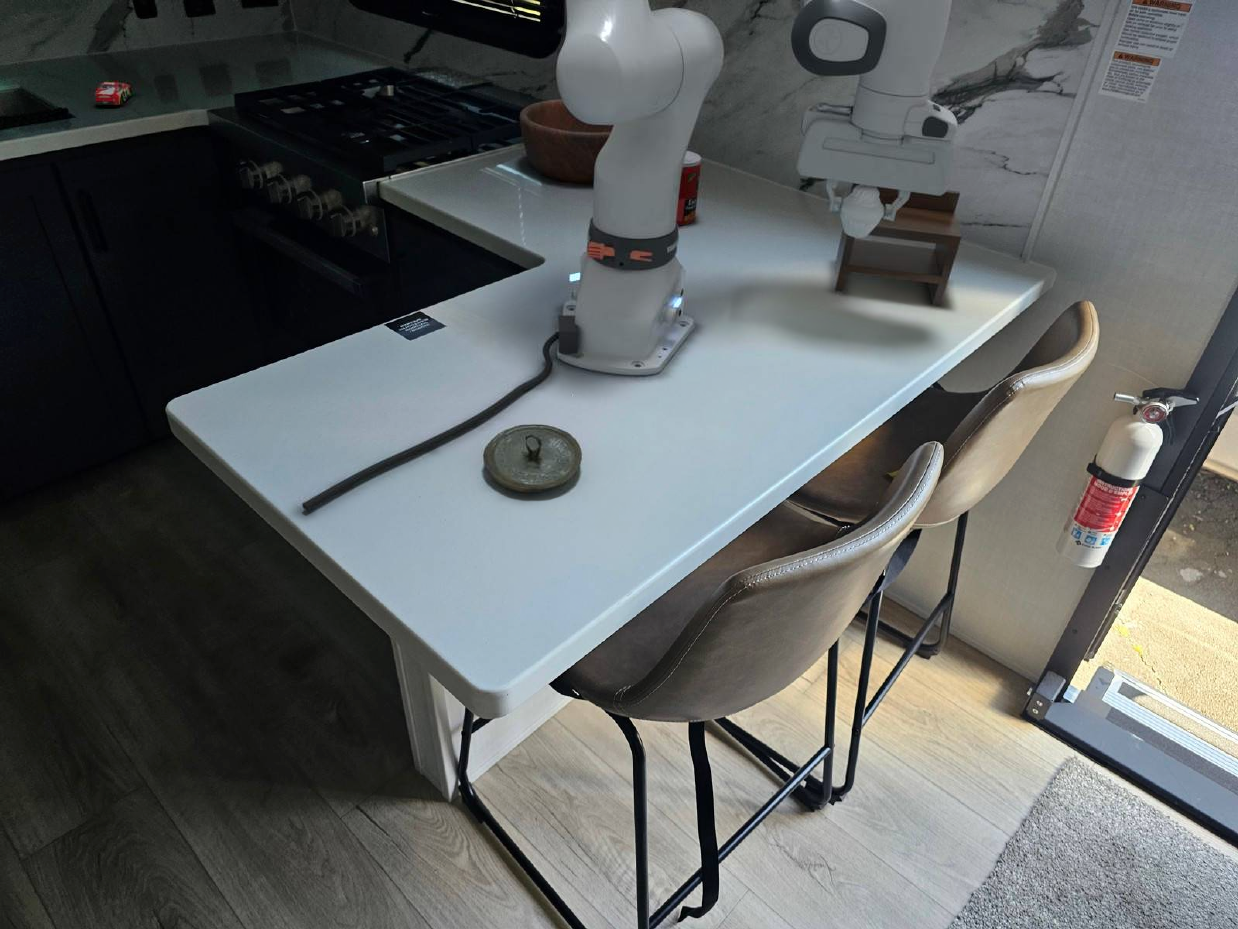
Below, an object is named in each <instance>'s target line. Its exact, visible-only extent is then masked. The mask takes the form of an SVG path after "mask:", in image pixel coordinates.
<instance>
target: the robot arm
mask: <svg viewBox="0 0 1238 929" xmlns="http://www.w3.org/2000/svg"><path fill="white" fill-rule="evenodd" d="M802 2H803V7H801V9H800V10H799V12H798V13H797V15H796V17H795V18H794V21H793V23H792V28H791V32H790V43H791V48H792V49H791V50H792V52H793V55H794V57H795V59H796V61H797V63H799V65H800V66H801V67H802V68H803V69H804V70H806V71H807V72H809V73H811V74H813V75H816V76H821V77H847V76H848V77H849V76H857V75H858V76H859V80H858V84H857V88H856V92H855V97H854V100H853V103H852V104H853V105H844V104H831V103H828V102H824V101H823V102H821V101H820V102H817V104H814V105H811V106H809V107H808V108H806V110H805V111H804V113H803V116H802V120H801V125H800V129H801V133H802V135H803V138H802V140H801V144H800V147H799V151H798V154H797V160H796V164H795V169H796V171H797V173H798V175H800V176H802V177H809V178H814V179H815V178H816V179H821V180H826V181H825V189H826V192H827V195H828V198H829V205H828V210H827V211H828V213H833V214H840V207H841V202H842V200H843V198H842V197H841V196H837V195H836V192H835V189H837V186H838V182H843V183H849V184H853V183H856V184H863V185H869V186H876V187H883V188H890V189H897V190H898V198H897V199H896V200H895V201H894V202H893V203H892V205H890V204H886V205H885V208H884V209H885V213H884V216H883V217H882V218H883V220H886V221H892V222H893V221H894V218H895V215H896V211H897V210H898V209H899V208H900V207H901V206H902V205H903V204H904V203H905V202H906V201H907V200H908V199H909V196H910V193H911V192H917V193H924V194H931V195H938V196H940V195H942V194H944V193H945V192H946V191H947V190H950V187H951V184H952V181H953V180H952V179H953V175H954V170H955V165H956V158H957V157H956V156H957V152H956V147H955V143H954V140H953V139H954V138H955V137H956V134H957V131H958V125H959V124H958V120H957V118H956V116H955V114H954V113H953V112H952V111H951V110H949V109H948V108H946V107H944V106H942V105H940V104H937V103H935V102H934V101H932V100H930V99H929V96H930V92H931V80H932V79H931V78H932V73H933V70H934V67H935V65H936V63H937V61H938V59H939V58H940V56H941V53H942V50H943V45H944V42H945V38H946V34H947V30H948V26H949V20H950V15H951V9H952V4H953V3H952V2H953V0H802ZM565 4H566V33H565V37H564V42H563V45H562V47H561V49H560V51H559V54H558V57H557V61H556V66H555V67H556V68H555V74H556V75H555V78H556V79H555V80H556V84H557V90H558V93H559V96H560V99H562V100H563V102H564V104H565V106H566V107H567V109H568V110H569V111H570V112H571V113H572V114H573V115H574V116H575V117H576V118H577V119H579V120H581V121H582V122H585V123H588V124H594V125H614V126H613V129H612V132H611V134H610V136H609V138H608V140H607V142H606V143H605V145H604V146H603V148H602V149H601V151H600V152H599V154H598V157H597V159H596V163H595V167H594V183H593V193H592V194H593V195H592V197H593V200H592V217H591V218H590V220H589V226H588V229H587V237H586V239H587V244H586V251H585V252H583V253H582V254H580V255H579V256H580V257H579V272H577V273H572V274H569V281H570V282H574V281H578V287H577V289H573V291H572V292H571V299H572V300H571V299H570V300H567V301H565V302H564V303H563V308H562V309H563V310H562V314H560V315H558V331H555V332H554V333H553V334H552V335H551V336H549V338H548V339H547V340H546V341H545V342H544V344H543V346H542V356H543V359H544V361H545V365H544V368H543V369H542V371H541V372H540V373H539V374H537V375H536V376H535V377H533V378H531V379H529V380H527V381H525V382H523V383H522V384H520V385H518V386H517V387H515V388H513V389H512V390H511V391H510V392H509V393H507V394H505V395H504V396H503V397H502V398H499V400H497V401H496V402H494V403H493V404H491V405H489V406H488V407H487V408H486V409H483V410H482V411H481V412H478V413H477V414H475V415H473V416H472V417H470V418H469V419H467V420H465V421H463V422H461V423H459V424H457V425H454V426H453V427H451V428H449V429H447V430H445V431H443V432H440V433H439V434H437V435H434V436H432V437H430V438H428V439H426V440H424V441H422V442H420V443H418V444H415V445H413V446H412V447H408V448H407V449H405V450H403V451H400V452H398V453H396V454H393V455H392V456H389V457H386V458H385V459H382V460H380V461H378V462H375V463H374V464H372V465H370V466H367V467H365V468H364V469H362V470H359V471H358V472H356V473H354V474H352V475H350V476H348V477H347V478H345V479H343V480H341V481H339V482H338V483H336V484H334V485H332V486H331V487H329V488H327V489H326V490H324V491H322V492H319V493H318V494H317V495H315V496H313V497H312V498H310V499H308V500H306V501H304V502H302V504H301V506H302V508H303V510H304V511H306V512H308V511H310V510H311V509H313V508H315V507H317V506H318V505H320V504H322V503H324V502H326V501H327V500H329V499H330V498H332V497H335V495H338V494H339V493H341V492H342V491H344V490H346V489H348V488H350V487H352V486H354V485H355V484H357V483H359V482H361V481H362V480H365V479H366V478H369V477H370V476H373V475H374V474H376V473H379V472H380V471H383V470H384V469H388V468H389V467H391V466H394V465H395V464H397V463H400V462H402V461H404V460H406V459H409V458H411V457H413V456H416V455H417V454H420V453H421V452H423V451H426V450H428V449H430V448H432V447H435V446H436V445H439V444H440V443H442V442H445V441H447V440H448V439H451V438H453V437H454V436H457V435H458V434H460V433H462V432H464V431H466V430H468V429H469V428H472V427H473V426H475V425H477V424H478V423H480V422H482V421H484V420H485V419H487V418H488V417H490V416H491V415H493V414H495V413H496V412H498V411H499V410H501V409H502V408H503V407H504V406H506V405H507V404H509V403H510V402H511V401H513V400H514V399H515V398H517V397H518V396H520V395H521V394H522V393H524V392H525V391H527V390H529V389H531V388H533V387H535V386H537V385H539V384H540V383H542V382H543V381H544V380H545V379H546V378H547V377H548V376H549V374H550V373H551V370H552V368H553V358H552V355H551V354H550V349H551V347H552V346H553V344H555V343H556V342H557V341H558V344H557V351H556V358H558V359H559V360H560V361H562V362H564V363H566V364H568V365H572V366H574V367H578V368H582V369H586V370H590V371H596V372H600V373H605V374H606V373H607V374H615V375H623V376H624V375H625V376H646V375H654V374H658V373H660V372H661V371H662V370H663V369H664V368H665V366H666V365H667V364H668V363H669V362H670V360H671V359H672V357H673V356H674V354H676V352H677V351H678V350H679V349H680V347H681V346H682V344H683V343H684V342H685V340H686V339H687V338H688V337H689V335H691V333H692V332H693V330H694V328H695V321H694V319H693V318H692V317H690V316H688V315H687V314H684V304H685V302H684V301H685V287H686V269H685V268H684V266H683V265H682V263H680V261H679V260H678V258H677V256H676V254H677V252H678V244H679V238H680V234H679V225H678V224H677V223H676V217H677V207H678V198H679V189H680V181H681V173H682V168H683V163H684V159H685V155H686V151H688V148H689V144H690V142H691V138H692V135H693V133H694V130H695V127H696V123H697V120H698V118H699V115H700V112H701V109H702V106H703V104H704V100H705V99H706V97H707V95H708V93H709V91H710V89H711V88H712V86H714V83H715V82H716V80H717V79H718V77H719V76H720V73H721V71H722V67H723V64H724V59H725V58H724V55H725V50H724V42H723V38H722V35H721V33H720V31H719V29H718V27H717V26H716V24H715V23H714V22H713V21H712V20H711V19H710V18H709V17H708V16H707V15H705V14H703V13H700V12H698V11H695V10H694V11H693V10H690V9H687V8H686V9H685V8H680V7H665V8H660V9H655V10H651V8H650V7H651V6H650V4H649V0H565Z"/></svg>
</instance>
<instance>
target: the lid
mask: <svg viewBox="0 0 1238 929" xmlns="http://www.w3.org/2000/svg"><path fill="white" fill-rule="evenodd" d="M482 458H483V464H484V467H485V470H486V471H487V473H488V474H489V475H490V477H492V478H493V480H494V481H495V482H497V483H498V485H501V486H502V487H504V488H506V490H509V491H513V492H518V493H519V492H520V493H539V492H544V491H549V490H551V489H555V488H558V487H561V486H562V485H565V484H567V483H568V482H569V481H571V479H572V478H574V476H575V475H576V474H577V473H578V470H579V468H580V467H581V465H582V464H581V463H582V460H583V453H582V448H581V446H580V443H579V442H578V440H577V439H576V438H575V437H574V436H572V434H571V433H569V432H568V431H566V430H563V429H561V428H558V427H555V426H552V425H547V424H539V423H538V424H535V423H534V424H533V423H532V424H531V423H530V424H519V425H515V426H512V427H509V428H506V429H505V430H503V431H501V432H498V433H497V434H496V435H495V436H494V437H493V438H492V439H490V441H489V442H488V443H487V444H486V446H485V447H484V450H483V453H482Z"/></svg>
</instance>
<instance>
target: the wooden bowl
mask: <svg viewBox="0 0 1238 929" xmlns="http://www.w3.org/2000/svg"><path fill="white" fill-rule="evenodd" d="M519 124H520V132H521V138H522V142H523V147H524V150H525V153H526V156H527V159H528V160H529V162H530V163H531V165H532V167H533V168H534V169H535V171H537V172H538V173H540V174H542V175H544V176H546V177H549V178H551V179H555V180H559V181H564V182H572V183H581V184H582V183H586V184H590V183H593V184H594V167H595V163H596V159H597V157H598V154H599V152H600V151H601V149H602V148H603V146H604V145H605V143H606V142H607V140H608V138H609V136H610V134H611V132H612V129H613V126H614V125H594V124H588V123H585V122H582V121H581V120H579V119H577V118H576V117H575V116H574V115H573V114H572V113H571V112H570V111H569V110H568V109H567V107H566V106H565V104H564V102H563V100H562V98H559V99H558V98H557V99H551V100H550V99H549V100H544V101H539V102H535V103H532V104H529V105H527V106H526V107H524V108H523V109H522V110H521V111H520V114H519Z"/></svg>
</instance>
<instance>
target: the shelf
mask: <svg viewBox="0 0 1238 929" xmlns="http://www.w3.org/2000/svg"><path fill="white" fill-rule="evenodd" d="M851 184H852V185H851V189H850V194H851V193H852V192H853V189H854V188H855V187H856V186H858V185H860V184H856V183H851ZM874 187H876V186H874ZM876 188H877V189H878V191H879V198H880V201H881V203H882V205H883V206H884V208H885V205H886V204H890V205H892V203H893V202H894V201H895V200H896V199H897V198H898V190H897V189H890V188H883V187H876ZM850 194H849V195H850ZM960 195H961V192H960V191H958V190H950V189H948V190H947V191H946V192H945V193H944V194H942V195H940V196H938V195H931V194H924V193H917V192H911V193H910V196H909V199H908V200H907V201H906V202H905V203H904V204H903V205H902V206H901V207H900V208H899V209H898V210H897V211H896V215H895V218H894V221H893V222H892V221H886V220H883V218H881V219H880V222H879V223H878V224H877V225H876V226H875V228H874V229H873V230H872V231H871V232H870V233H869V234H868V235H867V236H871V237H873V236H874V237H881V238H886V239H887V238H888V239H896V240H905V241H912V242H920V243H928V244H935V246H934V248H933V247H932V248H931V247H924V246H916V245H908V244H899V243H892V242H884V241H877V240H871V239H869V240H868V239H862V238H861V239H860V238H856V237H852V236H849V235H847V234H846V233H845V232H844V229H843V228H842V231H841V235H840V241H839V244H838V249H837V254H836V257H835V262H834V292H838V293H843V292H844V288H845V284H846V280H847V275H848V273H853V274H859V275H868V276H876V277H884V278H889V279H899V280H906V281H913V282H921V283H928V287H929V288H928V289H929V292H930V298H931V302H932V305H934V306H941V305H942V302H943V299H944V296H945V292H946V289H947V286H948V283H949V281H950V280H949V279H950V276H951V273H952V269H953V267H954V263H955V260H956V257H957V253H958V250H959V247H960V244H961V241H962V237H963V236H962V234H961V230H960V226H959V223H958V220H957V217H956V210H957V206H958V202H959V199H960Z"/></svg>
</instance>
